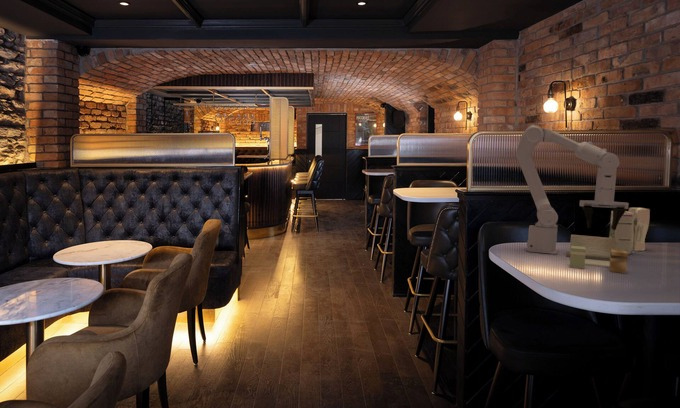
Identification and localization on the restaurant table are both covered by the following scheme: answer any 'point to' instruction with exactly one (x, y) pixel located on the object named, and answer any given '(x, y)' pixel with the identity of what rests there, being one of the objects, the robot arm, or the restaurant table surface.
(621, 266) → the oak block
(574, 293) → the restaurant table surface
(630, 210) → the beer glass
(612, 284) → the restaurant table surface
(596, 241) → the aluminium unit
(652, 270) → the restaurant table surface
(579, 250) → the sage block
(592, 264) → the pad
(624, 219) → the syrup box
